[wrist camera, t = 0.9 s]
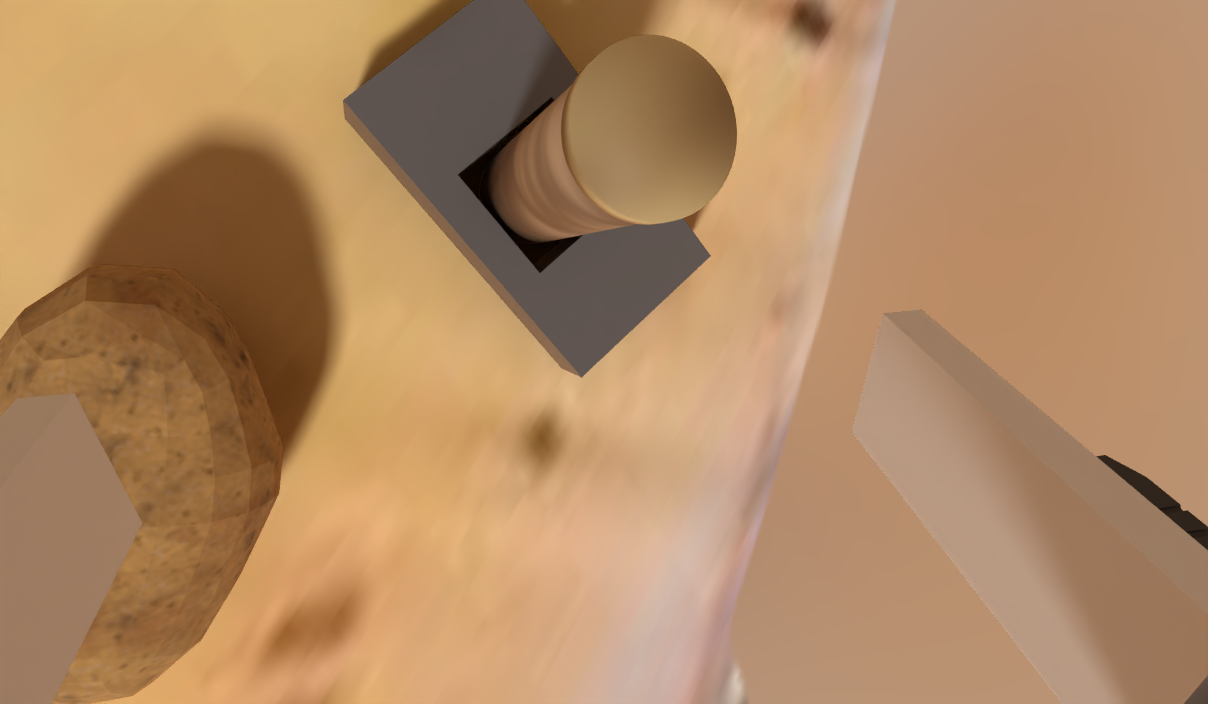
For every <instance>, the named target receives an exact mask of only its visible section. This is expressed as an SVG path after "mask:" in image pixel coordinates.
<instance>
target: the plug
mask: <svg viewBox="0 0 1208 704" xmlns="http://www.w3.org/2000/svg"><path fill="white" fill-rule="evenodd" d="M736 142H737V128H736V118H735V113H734V108H733V105H732V101H731V98H730V96H729V93H728V91H727V89H726V86H725V85H724V83H723V81H722V79H721V78H720V76H719V75H718V73H717V72H716V71H715V69H714V68H713V66H712V65H711V64H710V63H709V62H708V61H707V60H706V59H705V58H704V57H703V56H702V55H700V54H699V53H698V52H697V51H695V50H694V49H692V48H691V47H689V46H688V45H686V44H684V43H682V42H679V41H677V40H675V39H672V38H668V37H665V36H658V35H638V36H632V37H629V38H625V39H622V40H620V41H618V42H616V43H614V44H612V45H610V46H609V47H607V48H606V49H604V50H603V51H602V52H600V53H599V54H598V55H597V56H596V57H595V58H594V59H593V60H592V61H591V62H590V63H589V64H588V65H587V66H586V67H585V68H584V69H583V70H582V71H581V72H580V74H579V75H578V76H577V77H576V79H575V81H574V82H573V84H572V85H571V86H570V87H569V88H568V89H567V90H566V91H564V92H563V93H562V94H561V95H560V96H559V97H558V98H557V99H556V100H555V101H554V102H553V103H551V104H550V105H549V106H548V107H547V108H546V109H545V110H544V111H543V112H542V113H541V114H540V115H538V116H537V117H536V118H535V119H534V120H533V121H532V122H531V123H530V124H529V125H528V126H526V127H525V128H524V129H523V130H522V131H521V132H520V133H519V134H518V135H517V136H516V137H515V138H513V139H512V140H511V141H510V142H509V143H508V144H507V145H506V146H505V147H504V148H503V149H502V150H500V151H499V152H498V153H497V154H496V155H495V156H494V157H493V158H492V159H491V160H490V161H489V163H488V164H487V166H486V168H485V169H484V172H483V174H482V177H481V181H480V188H479V196H480V202H481V203H482V204H483V206H484V207H485V208H486V209H487V210H488V212H489V213H490V214H491V215H492V216H493V218H494V219H495V220H496V221H497V222H498V224H499V225H500V226H501V227H502V228H503V230H504V231H505V232H506V233H507V234H508V236H509V237H510V238H511V239H512V240H513V241H514V242H517V243H522V244H538V243H544V242H549V241H554V240H559V239H564V238H569V237H574V236H579V235H584V234H589V233H594V232H599V231H605V230H610V229H615V228H620V227H625V226H630V225H635V224H642V225H651V224H660V223H665V222H671V221H675V220H679V219H682V218H685V217H687V216H690V215H692V214H693V213H695V212H697V211H698V210H700V209H701V208H703V207H704V206H705V205H706V204H708V203H709V202H710V201H711V200H712V199H713V198H714V197H715V195H716V194H717V193H718V191H719V190H720V189H721V187H722V186H723V184H724V182H725V180H726V179H727V177H728V174H729V172H730V169H731V167H732V164H733V160H734V156H735V150H736Z"/></svg>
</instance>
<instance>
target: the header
mask: <svg viewBox="0 0 1208 704" xmlns="http://www.w3.org/2000/svg"><path fill="white" fill-rule="evenodd" d="M578 75H579V74H578V73H577V72H576V70H575V69H574V67H573V66H572V65H571V63H570V62H569V61H568V59H567V58H566V56H565V55H564V54H563V52H562V51H561V50H560V48H559V47H558V45H557V44H556V43H555V41H554V40H553V39H552V37H551V36H550V35H549V33H548V32H547V30H546V29H545V28H544V26H543V25H542V24H541V22H540V21H539V19H538V18H537V17H536V15H535V14H534V13H533V11H532V10H531V8H530V7H529V6H528V4H527V3H526V2H525V0H473V1H472V2H470V3H469V4H468V5H466V6H465V7H464V8H462V9H461V10H460V11H459V12H457V13H456V14H455V15H453V16H452V17H451V18H449V19H448V20H447V21H446V22H444V23H443V24H442V25H440V26H439V27H438V28H436V29H435V30H434V31H433V32H431V33H430V34H429V35H427V36H426V37H425V38H423V39H422V40H421V41H420V42H418V43H417V44H416V45H414V46H413V47H412V48H410V49H409V50H408V51H407V52H405V53H404V54H403V55H401V56H400V57H399V58H397V59H396V60H395V61H393V62H392V63H391V64H390V65H388V66H387V67H386V68H384V69H383V70H382V71H380V72H379V73H378V74H377V75H375V76H374V77H373V78H371V79H370V80H369V81H367V82H366V83H365V84H364V85H362V86H361V87H360V88H358V89H357V90H356V91H354V92H353V93H352V94H351V95H349V96H348V97H347V98H345V99H344V100H343V105H344V114H345V119H346V120H347V121H348V123H349V124H350V125H351V126H352V127H353V128H354V129H355V131H356V132H357V133H358V134H359V135H360V136H361V137H362V139H363V140H364V141H365V142H366V143H367V144H368V146H369V147H370V148H371V149H372V150H373V151H374V152H375V154H376V155H377V156H378V157H379V158H380V159H381V161H382V162H383V163H384V164H385V165H386V166H387V167H388V169H389V170H390V171H391V172H392V173H393V174H394V175H395V177H396V178H397V179H398V180H399V181H400V182H401V184H402V185H403V186H404V187H405V188H406V189H407V190H408V192H409V193H410V194H411V195H412V196H413V197H414V199H415V200H416V201H417V202H418V203H419V204H420V205H421V207H422V208H423V209H424V210H425V211H426V212H427V213H428V215H429V216H430V217H431V218H432V219H433V220H434V222H435V223H436V224H437V225H438V226H439V227H440V228H441V230H442V231H443V232H444V233H445V234H446V235H447V237H448V238H449V239H450V240H451V241H452V242H453V243H454V245H455V246H456V247H457V248H458V249H459V250H460V251H461V253H462V254H463V255H464V256H465V257H466V258H467V260H468V261H469V262H470V263H471V264H472V265H473V266H474V268H475V269H476V270H477V271H478V272H479V273H480V275H481V276H482V277H483V278H484V279H485V280H486V281H487V283H488V284H489V285H490V286H491V287H492V288H493V289H494V291H495V292H496V293H497V294H498V295H499V296H500V298H501V299H502V300H503V301H504V302H505V303H506V304H507V306H508V307H509V308H510V309H511V310H512V311H513V313H514V314H515V315H516V316H517V317H518V318H519V319H520V321H521V322H522V323H523V324H524V325H525V326H526V327H527V329H528V330H529V331H530V332H531V333H532V334H533V336H534V337H535V338H536V339H537V340H538V341H539V342H540V344H541V345H542V346H543V347H544V348H545V349H546V351H547V352H548V353H549V354H550V355H551V356H552V357H553V359H554V360H555V361H556V362H557V363H558V364H559V366H560V367H561V368H562V369H564V370H567V371H569V372H571V373H573V374H575V375H578V376H580V377H582V376H584V375H585V374H586V373H587V372H588V371H589V370H590V369H591V368H592V367H593V366H594V365H595V364H596V363H597V362H598V361H599V360H601V359H602V358H603V357H604V356H605V355H606V354H607V353H608V352H609V351H610V350H611V349H612V348H613V347H614V346H615V345H617V344H618V343H619V342H620V341H621V340H622V339H623V338H624V337H625V336H626V335H627V334H628V333H629V332H630V331H631V330H632V329H634V328H635V327H636V326H637V325H638V324H639V323H640V322H641V321H642V320H643V319H644V318H645V317H646V316H647V315H648V314H649V313H651V312H652V311H653V310H654V309H655V308H656V307H657V306H658V305H659V304H660V303H661V302H662V301H663V300H664V299H665V298H666V297H668V296H669V295H670V294H671V293H672V292H673V291H674V290H675V289H676V288H677V287H678V286H679V285H680V284H681V283H682V282H684V281H685V280H686V279H687V278H688V277H689V276H690V275H691V274H692V273H693V272H694V271H695V270H696V269H697V268H698V267H699V266H701V265H702V264H703V263H704V262H705V261H706V260H707V259H708V258H709V257H710V254H709V253H708V252H707V250H706V249H705V247H704V246H703V245H702V243H701V242H700V241H699V239H698V238H697V236H696V235H695V234H694V232H693V231H692V230H691V228H690V227H689V225H688V224H687V223H686V221H685V220H684V219H683V218H682V219H679V220H675V221H671V222H665V223H660V224H651V225H642V224H635V225H630V226H625V227H620V228H615V229H610V230H605V231H599V232H594V233H589V234H584V235H579V236H574V237H569V238H564V239H562V240H561V241H560V242H559V243H558V244H557V245H556V246H555V247H553V248H552V249H551V250H550V251H549V252H548V253H547V254H545V255H544V256H543V257H542V258H541V259H540V260H539V261H538V262H536V263H535V264H534V265H533V264H532V263H531V262H530V261H529V260H528V258H527V257H526V256H525V255H524V254H523V252H522V251H521V250H520V249H519V248H518V246H517V245H516V244H515V243H514V242H513V240H512V239H511V238H510V237H509V236H508V234H507V233H506V232H505V231H504V230H503V228H502V227H501V226H500V225H499V224H498V222H497V221H496V220H495V219H494V218H493V216H492V215H491V214H490V213H489V212H488V210H487V209H486V208H485V207H484V206H483V204H482V203H481V202H480V201H479V200H478V198H477V197H476V196H475V195H474V194H473V192H472V191H471V190H470V189H469V188H468V186H467V185H466V184H465V183H464V182H463V180H462V179H461V178H460V177H459V175H461V174H462V173H463V172H464V171H465V170H467V169H468V168H469V167H470V166H471V165H473V164H474V163H475V162H476V161H477V160H479V159H480V158H481V157H482V156H484V155H485V154H486V153H487V152H488V151H490V150H491V149H492V148H493V147H494V146H496V145H497V144H498V143H499V142H500V141H502V140H503V139H504V138H505V137H506V136H508V135H509V134H510V133H511V132H513V131H514V130H515V129H516V128H517V127H519V126H520V125H521V124H522V123H523V122H525V121H526V120H527V119H528V118H529V117H531V116H532V115H533V114H534V115H535V116H536V117H537V116H538V115H540V114H541V113H542V112H543V111H544V110H545V109H546V108H547V107H548V106H549V105H550V104H551V103H553V102H554V101H555V100H556V99H557V98H558V97H559V96H560V95H561V94H562V93H563V92H564V91H566V90H567V89H568V88H569V87H570V86H571V85H572V84H573V82H574V81H575V79H576V77H577V76H578Z"/></svg>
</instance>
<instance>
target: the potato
mask: <svg viewBox="0 0 1208 704" xmlns="http://www.w3.org/2000/svg"><path fill="white" fill-rule="evenodd" d="M70 393H75V395H76V397H77V399H78V401H79V403H80V405H81V407H82V409H83V410H84V412H85V414H86V416H87V418H88V420H89V422H90V424H91V426H92V428H93V430H94V431H95V433H96V435H97V437H98V439H99V441H100V443H101V445H102V447H103V449H104V451H105V453H106V454H107V456H108V458H109V460H110V462H111V464H112V466H113V468H114V470H115V472H116V474H117V475H118V477H119V479H120V481H121V483H122V485H123V487H124V489H125V491H126V493H127V495H128V496H129V498H130V500H131V502H132V504H133V506H134V508H135V510H136V512H137V514H138V516H139V518H140V519H141V521H142V525H141V527H140V529H139V531H138V533H137V535H136V537H135V539H134V541H133V543H132V545H131V547H130V549H129V551H128V553H127V555H126V557H125V559H124V561H123V563H122V565H121V567H120V569H119V571H118V573H117V575H116V577H115V579H114V581H113V583H112V585H111V587H110V589H109V591H108V593H107V595H106V597H105V599H104V601H103V603H102V605H101V607H100V609H99V611H98V613H97V615H96V617H95V619H94V621H93V623H92V625H91V627H90V629H89V631H88V633H87V635H86V636H85V638H84V640H83V642H82V644H81V646H80V648H79V650H78V652H77V654H76V656H75V658H74V660H73V662H72V664H71V666H70V668H69V670H68V672H67V674H66V676H65V678H64V680H63V682H62V684H61V686H60V688H59V690H58V692H57V694H56V696H55V698H54V700H53V702H52V704H91V703H97V702H102V701H108V700H113V699H118V698H124V697H129V696H133V695H134V694H136V693H137V692H139V691H140V690H142V689H143V688H145V687H146V686H148V685H149V684H151V683H152V682H153V681H154V680H155V679H156V678H158V677H159V676H160V675H161V674H162V673H163V672H165V671H166V670H167V669H168V668H169V667H170V666H172V665H173V664H174V663H175V662H176V661H177V660H179V659H180V658H181V657H182V656H183V655H184V654H186V653H187V652H188V651H189V650H190V649H191V648H192V647H194V646H195V645H196V644H197V643H198V642H199V641H201V639H202V638H203V636H204V634H205V633H206V631H207V629H208V628H209V626H210V624H211V623H212V621H213V620H214V618H215V616H216V615H217V613H218V611H219V610H220V608H221V606H222V605H223V603H224V601H225V600H226V598H227V596H228V595H229V593H230V591H231V590H232V588H233V586H234V584H235V583H236V581H237V579H238V577H239V576H240V574H241V572H242V570H243V568H244V566H245V564H246V562H247V560H248V557H249V555H250V553H251V551H252V549H253V547H254V545H255V543H256V541H257V539H258V537H259V535H260V532H261V530H262V528H263V526H264V524H265V522H266V520H267V518H268V516H269V514H270V511H271V509H272V507H273V505H274V503H275V501H276V499H277V496H278V494H279V489H280V478H281V467H282V456H283V444H282V441H281V439H280V436H279V433H278V430H277V427H276V425H275V422H274V419H273V416H272V413H271V411H270V408H269V405H268V402H267V400H266V397H265V394H264V391H263V389H262V386H261V383H260V380H259V378H258V375H257V372H256V370H255V367H254V364H253V361H252V359H251V356H250V354H249V353H248V351H247V349H246V348H245V346H244V344H243V342H242V341H241V339H240V337H239V336H238V334H237V332H236V331H235V329H234V327H233V325H232V324H231V322H230V320H229V319H228V317H227V315H226V313H225V312H224V310H222V309H221V308H220V307H219V306H218V305H217V304H215V303H214V302H213V301H212V300H211V299H209V298H208V297H207V296H206V295H205V294H203V293H202V292H201V291H200V290H199V289H198V288H196V287H195V286H194V285H193V284H192V283H190V282H189V281H188V280H187V279H186V278H184V277H183V276H182V275H181V274H180V273H179V272H177V271H176V270H175V269H166V268H150V267H135V266H119V265H103V264H94V265H93V266H91V267H90V268H88V269H86V270H85V271H83V272H82V273H80V274H79V275H77V276H75V277H74V278H72V279H71V280H69V281H68V282H66V283H64V284H63V285H61V286H60V287H58V288H57V289H55V290H54V291H52V292H50V293H49V294H47V295H46V296H44V297H43V298H41V299H39V300H38V301H36V302H35V303H33V304H32V305H30V306H28V307H27V308H25V309H24V310H23V311H22V313H21V314H20V315H19V316H18V317H17V318H16V320H15V321H14V322H13V324H12V325H11V326H10V328H9V329H8V330H7V332H6V333H5V334H4V336H3V337H2V338H1V340H0V417H1V416H2V415H3V414H4V412H5V411H6V410H7V409H8V408H9V407H10V406H11V405H12V403H13V402H14V401H15V400H16V399H19V398H29V397H39V396H49V395H59V394H70Z"/></svg>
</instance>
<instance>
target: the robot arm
mask: <svg viewBox="0 0 1208 704" xmlns="http://www.w3.org/2000/svg"><path fill="white" fill-rule="evenodd" d="M852 433H853V434H854V436H855V437H856V438H857V439H858V441H859V442H860V443H861V445H862V446H863V447H864V448H865V449H866V451H867V452H868V454H869V455H870V456H871V457H872V459H873V460H874V461H875V463H876V464H877V465H878V466H879V468H880V469H881V470H882V472H883V473H884V474H885V476H886V477H887V478H888V479H889V481H890V482H891V483H892V485H893V486H894V487H895V489H896V490H897V491H898V492H899V494H900V495H901V496H902V498H903V499H904V500H905V501H906V503H907V504H908V505H909V507H910V508H911V509H912V511H913V512H914V513H915V514H916V516H917V517H918V518H919V519H920V521H921V522H922V523H923V525H924V526H925V527H926V529H927V530H928V531H929V532H930V534H931V535H932V536H933V538H934V539H935V540H936V541H937V543H938V544H939V545H940V547H941V548H942V549H943V551H944V552H945V553H946V554H947V556H948V557H949V558H950V560H951V561H952V562H953V563H954V565H955V566H956V567H957V569H958V570H959V571H960V572H961V574H962V575H963V576H964V578H965V579H966V580H967V582H968V583H969V584H970V585H971V587H972V588H973V589H974V591H975V592H976V593H977V594H978V596H979V597H980V598H981V600H982V601H983V602H984V604H985V605H986V606H987V607H988V609H989V610H990V611H991V613H992V614H993V615H994V616H995V618H996V619H997V620H998V622H999V623H1000V624H1001V626H1002V627H1003V628H1004V629H1005V631H1006V632H1007V633H1008V634H1009V636H1010V637H1011V638H1012V640H1013V641H1014V642H1015V644H1016V645H1017V646H1018V647H1019V649H1020V650H1021V651H1022V653H1023V654H1024V655H1025V656H1026V658H1027V659H1028V660H1029V662H1030V663H1031V664H1032V666H1033V667H1034V668H1035V669H1036V670H1037V672H1038V673H1039V675H1040V676H1041V677H1042V679H1043V680H1044V681H1045V682H1046V684H1047V685H1048V686H1049V687H1050V689H1051V690H1052V691H1053V693H1054V694H1055V695H1056V697H1057V698H1058V699H1059V700H1060V702H1061V703H1062V704H1208V527H1207V526H1206V525H1205V524H1203V523H1202V522H1201V521H1200V520H1198V519H1197V518H1196V517H1195V516H1194V515H1192V514H1191V513H1190V512H1189V511H1183V510H1182V509H1181V507H1180V504H1179V503H1178V502H1176V501H1175V500H1174V499H1173V498H1171V497H1170V496H1169V495H1168V494H1166V493H1165V492H1164V491H1163V490H1162V489H1160V488H1159V487H1158V486H1157V485H1155V484H1154V483H1153V482H1152V481H1151V480H1149V479H1148V478H1147V477H1145V476H1143V475H1141V474H1140V473H1138V472H1136V471H1134V470H1132V469H1130V468H1128V467H1126V466H1125V465H1123V464H1121V463H1119V462H1117V461H1115V460H1113V459H1111V458H1110V457H1108V456H1106V455H1103V456H1095V455H1094V454H1093V453H1091V452H1090V451H1089V450H1088V449H1087V448H1085V447H1084V446H1083V445H1082V444H1081V443H1080V442H1078V441H1077V440H1076V439H1075V438H1074V437H1072V436H1071V435H1070V434H1069V433H1068V432H1066V431H1065V430H1064V429H1063V428H1062V427H1061V426H1059V425H1058V424H1057V423H1056V422H1054V421H1053V420H1052V419H1051V418H1050V417H1049V416H1047V415H1046V414H1045V413H1044V412H1043V411H1042V410H1040V409H1039V408H1038V407H1037V406H1036V405H1034V404H1033V403H1032V402H1031V401H1030V400H1028V399H1027V398H1026V397H1025V396H1024V395H1023V394H1021V393H1020V392H1019V391H1018V390H1017V389H1015V388H1014V387H1013V386H1012V385H1011V384H1009V383H1008V382H1007V381H1006V380H1004V379H1003V378H1002V377H1001V376H1000V375H999V374H998V373H996V372H995V371H994V370H993V369H991V368H990V367H989V366H988V365H987V364H986V363H984V362H983V361H982V360H981V359H980V358H978V357H977V356H976V355H975V354H974V353H973V352H971V351H970V350H969V349H968V348H967V347H965V346H964V345H963V344H962V343H961V342H960V341H958V340H957V339H956V338H955V337H954V336H952V335H951V334H950V333H949V332H948V331H947V330H945V329H944V328H943V327H942V326H941V325H939V324H938V323H937V322H936V321H934V320H933V319H932V318H931V317H930V316H929V315H927V314H926V313H925V312H924V311H923V310H913V311H903V312H893V313H884V314H883V316H882V320H881V323H880V327H879V331H878V335H877V339H876V343H875V347H874V350H873V354H872V358H871V362H870V365H869V369H868V373H867V377H866V381H865V385H864V388H863V392H862V396H861V400H860V404H859V407H858V411H857V415H856V419H855V423H854V426H853V431H852ZM141 525H142V521H141V519H140V518H139V516H138V514H137V512H136V510H135V508H134V506H133V504H132V502H131V500H130V498H129V496H128V495H127V493H126V491H125V489H124V487H123V485H122V483H121V481H120V479H119V477H118V475H117V474H116V472H115V470H114V468H113V466H112V464H111V462H110V460H109V458H108V456H107V454H106V453H105V451H104V449H103V447H102V445H101V443H100V441H99V439H98V437H97V435H96V433H95V431H94V430H93V428H92V426H91V424H90V422H89V420H88V418H87V416H86V414H85V412H84V410H83V409H82V407H81V405H80V403H79V401H78V399H77V397H76V395H75V393H70V394H59V395H49V396H39V397H29V398H19V399H16V400H15V401H14V402H13V403H12V405H11V406H10V407H9V408H8V409H7V410H6V411H5V412H4V414H3V415H2V416H1V417H0V704H52V702H53V700H54V698H55V696H56V694H57V692H58V690H59V688H60V686H61V684H62V682H63V680H64V678H65V676H66V674H67V672H68V670H69V668H70V666H71V664H72V662H73V660H74V658H75V656H76V654H77V652H78V650H79V648H80V646H81V644H82V642H83V640H84V638H85V636H86V635H87V633H88V631H89V629H90V627H91V625H92V623H93V621H94V619H95V617H96V615H97V613H98V611H99V609H100V607H101V605H102V603H103V601H104V599H105V597H106V595H107V593H108V591H109V589H110V587H111V585H112V583H113V581H114V579H115V577H116V575H117V573H118V571H119V569H120V567H121V565H122V563H123V561H124V559H125V557H126V555H127V553H128V551H129V549H130V547H131V545H132V543H133V541H134V539H135V537H136V535H137V533H138V531H139V529H140V527H141Z"/></svg>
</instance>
